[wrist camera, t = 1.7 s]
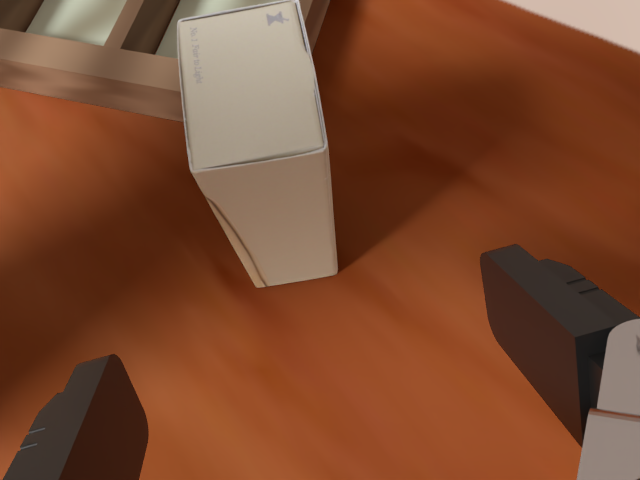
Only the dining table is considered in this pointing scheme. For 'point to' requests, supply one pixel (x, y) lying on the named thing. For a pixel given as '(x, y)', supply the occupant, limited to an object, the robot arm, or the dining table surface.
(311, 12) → the wooden compartment tray
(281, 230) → the skincare box
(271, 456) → the dining table surface
